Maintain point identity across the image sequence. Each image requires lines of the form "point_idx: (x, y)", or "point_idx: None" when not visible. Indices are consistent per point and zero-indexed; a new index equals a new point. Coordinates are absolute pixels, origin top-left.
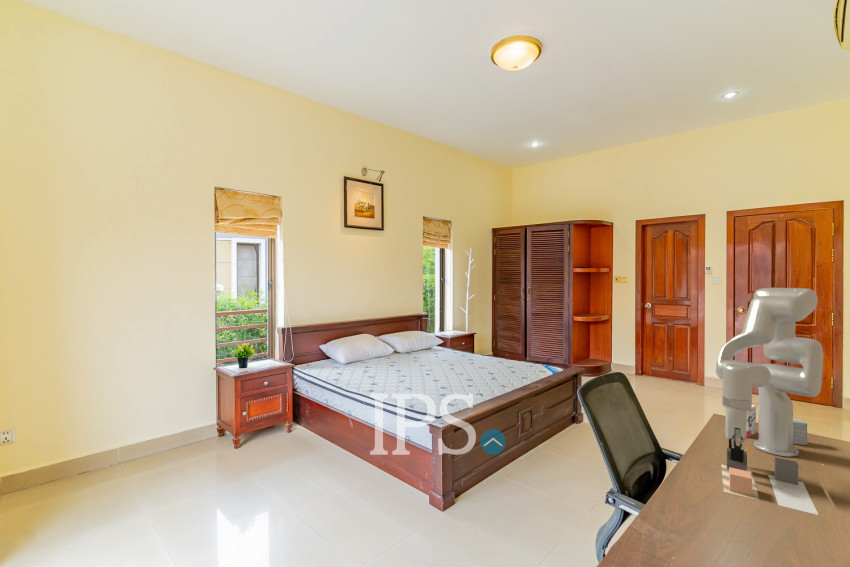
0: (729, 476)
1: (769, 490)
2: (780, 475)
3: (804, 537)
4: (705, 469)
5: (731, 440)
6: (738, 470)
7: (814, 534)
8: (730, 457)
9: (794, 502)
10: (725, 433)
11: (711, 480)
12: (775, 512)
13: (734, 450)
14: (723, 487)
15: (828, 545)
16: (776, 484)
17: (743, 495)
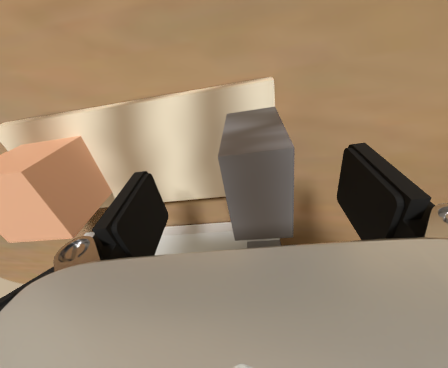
0: (13, 160)
1: (187, 219)
2: None
3: (19, 257)
4: (197, 3)
5: (383, 201)
6: (33, 205)
7: (50, 267)
8: (134, 176)
9: None
10: (168, 286)
11: (88, 60)
12: None
13: (93, 237)
14: (20, 123)
15: (35, 276)
16: (213, 241)
17: None
